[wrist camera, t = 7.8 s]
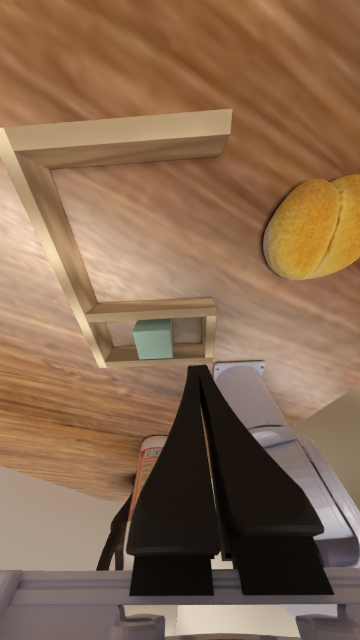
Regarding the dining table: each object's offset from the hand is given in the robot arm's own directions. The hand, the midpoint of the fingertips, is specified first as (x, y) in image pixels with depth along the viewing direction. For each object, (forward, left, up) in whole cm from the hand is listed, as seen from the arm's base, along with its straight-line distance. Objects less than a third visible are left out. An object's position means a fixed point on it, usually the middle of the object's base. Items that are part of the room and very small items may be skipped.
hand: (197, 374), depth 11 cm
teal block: (-2, +4, -10) cm, 11 cm away
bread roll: (+9, -12, -10) cm, 18 cm away
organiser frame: (+5, +4, -9) cm, 12 cm away
